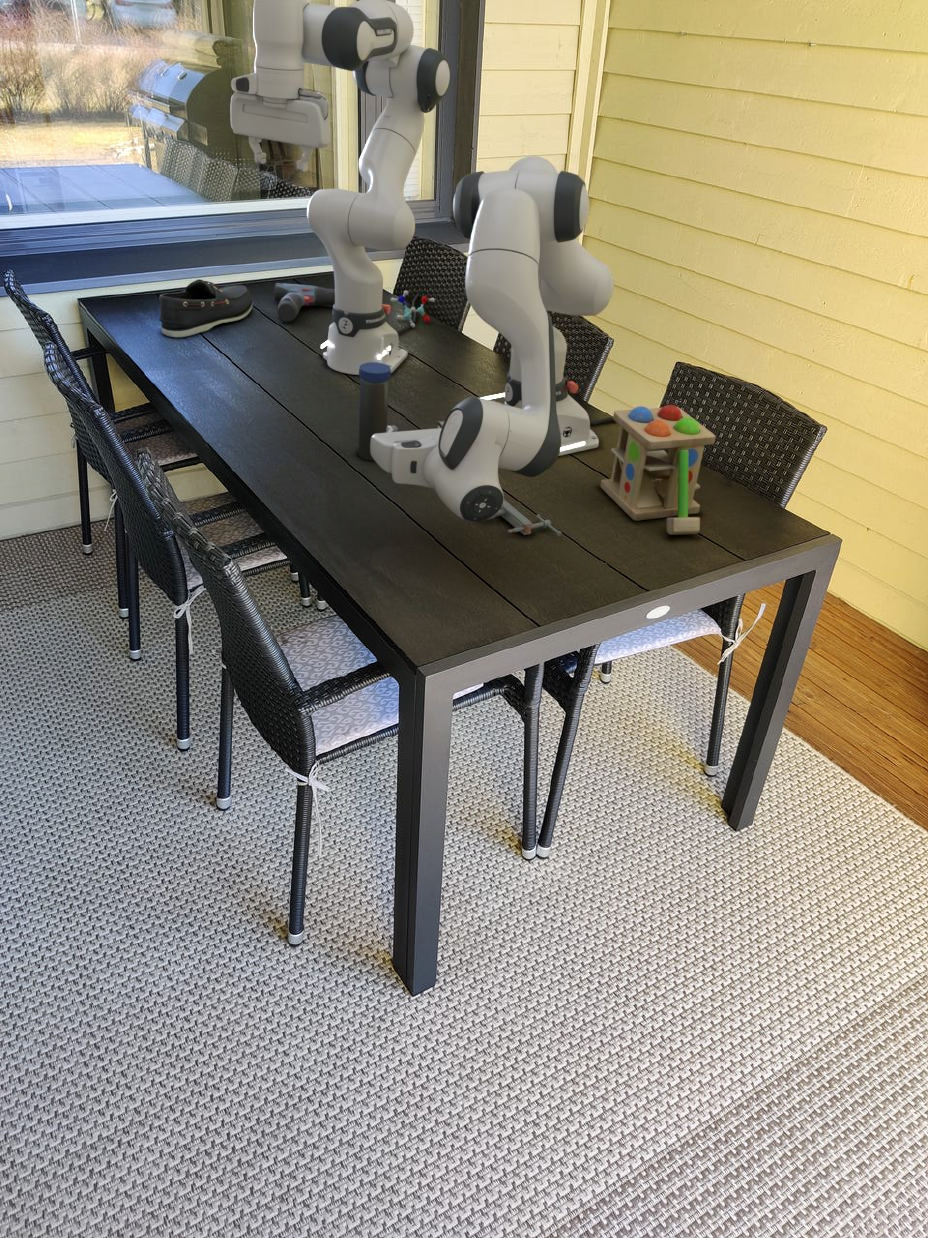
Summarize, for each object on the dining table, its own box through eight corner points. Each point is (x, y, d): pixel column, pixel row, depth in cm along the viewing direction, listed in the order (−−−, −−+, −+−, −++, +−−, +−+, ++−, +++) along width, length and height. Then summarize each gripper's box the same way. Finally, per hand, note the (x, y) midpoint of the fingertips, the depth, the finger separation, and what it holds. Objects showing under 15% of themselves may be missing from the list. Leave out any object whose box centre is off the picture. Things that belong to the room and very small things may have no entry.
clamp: (472, 500, 179) (518, 491, 183) (471, 511, 180) (516, 501, 185) (516, 538, 168) (563, 528, 173) (514, 550, 170) (562, 539, 174)
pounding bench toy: (723, 535, 180) (747, 445, 170) (656, 543, 176) (676, 451, 166) (661, 480, 198) (680, 395, 188) (598, 486, 193) (614, 400, 183)
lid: (389, 384, 185) (390, 374, 184) (357, 381, 185) (357, 372, 184) (391, 372, 190) (391, 363, 189) (360, 370, 190) (360, 360, 189)
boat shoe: (271, 314, 265) (269, 274, 259) (179, 339, 241) (175, 296, 235) (235, 305, 270) (233, 266, 265) (143, 329, 246) (138, 287, 241)
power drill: (335, 306, 256) (344, 285, 273) (264, 300, 255) (277, 279, 272) (335, 327, 259) (344, 304, 276) (264, 320, 258) (277, 299, 275)
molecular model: (427, 319, 259) (415, 282, 258) (396, 332, 263) (384, 296, 261) (442, 321, 269) (430, 285, 268) (412, 333, 273) (400, 298, 272)
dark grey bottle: (385, 461, 195) (388, 376, 185) (357, 459, 194) (359, 373, 184) (386, 450, 199) (389, 365, 189) (359, 448, 199) (361, 363, 189)
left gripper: (337, 91, 179) (336, 173, 186) (244, 76, 185) (247, 156, 193) (319, 93, 174) (319, 177, 182) (223, 78, 180) (227, 160, 188)
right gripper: (504, 437, 162) (472, 405, 172) (387, 448, 155) (361, 414, 165) (500, 472, 165) (469, 439, 176) (385, 484, 158) (360, 448, 168)
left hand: (281, 166), depth 187 cm, fingers open, 8 cm apart
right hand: (416, 427), depth 170 cm, fingers open, 8 cm apart
